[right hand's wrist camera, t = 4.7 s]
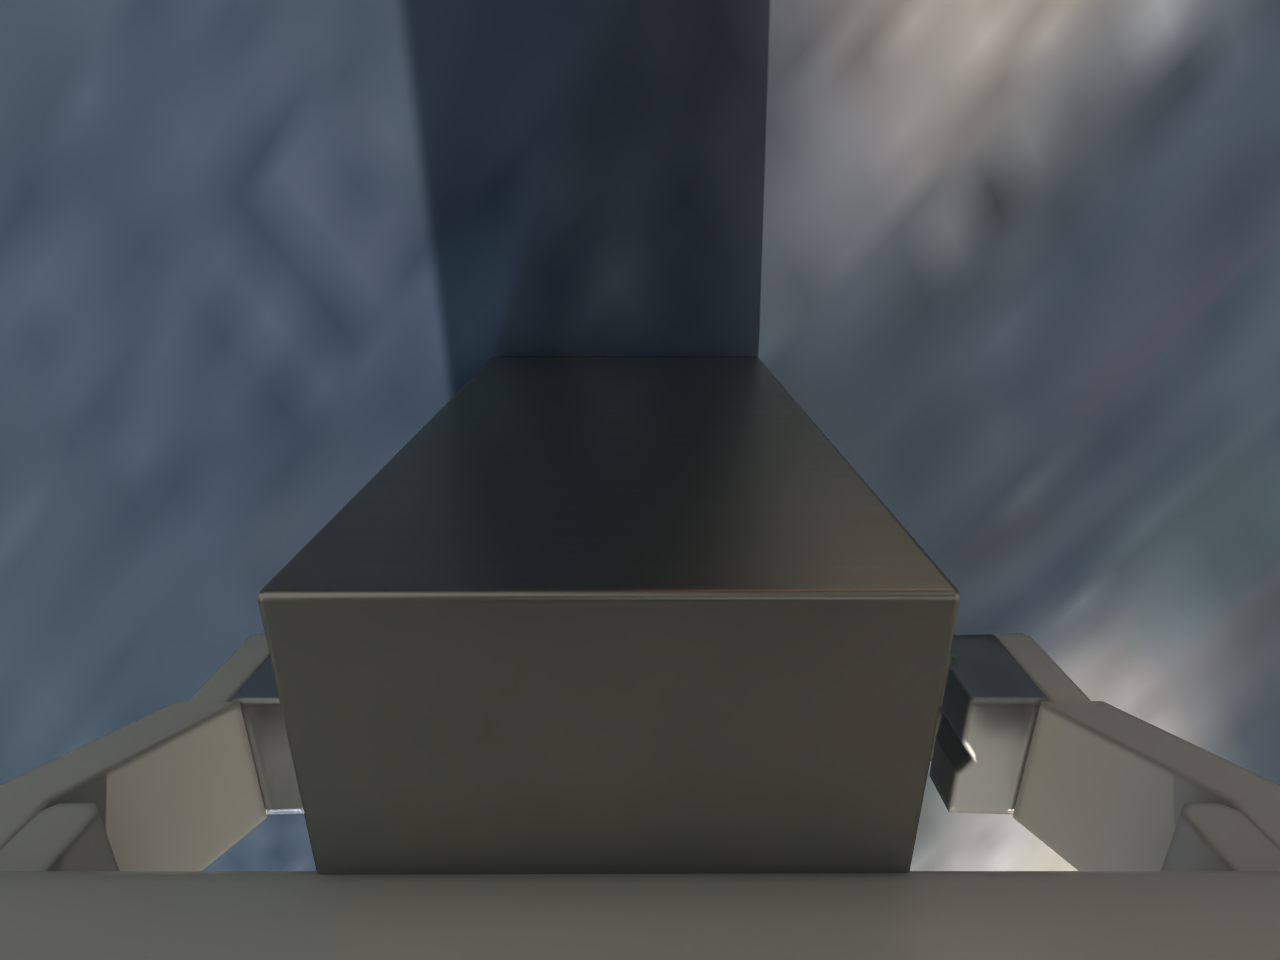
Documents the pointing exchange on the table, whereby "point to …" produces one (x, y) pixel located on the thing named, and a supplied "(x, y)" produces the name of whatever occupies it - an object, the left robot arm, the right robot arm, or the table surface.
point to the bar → (612, 638)
